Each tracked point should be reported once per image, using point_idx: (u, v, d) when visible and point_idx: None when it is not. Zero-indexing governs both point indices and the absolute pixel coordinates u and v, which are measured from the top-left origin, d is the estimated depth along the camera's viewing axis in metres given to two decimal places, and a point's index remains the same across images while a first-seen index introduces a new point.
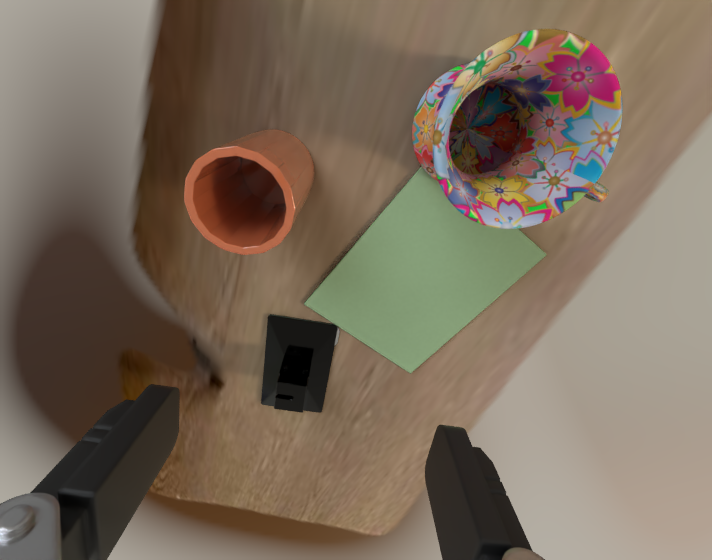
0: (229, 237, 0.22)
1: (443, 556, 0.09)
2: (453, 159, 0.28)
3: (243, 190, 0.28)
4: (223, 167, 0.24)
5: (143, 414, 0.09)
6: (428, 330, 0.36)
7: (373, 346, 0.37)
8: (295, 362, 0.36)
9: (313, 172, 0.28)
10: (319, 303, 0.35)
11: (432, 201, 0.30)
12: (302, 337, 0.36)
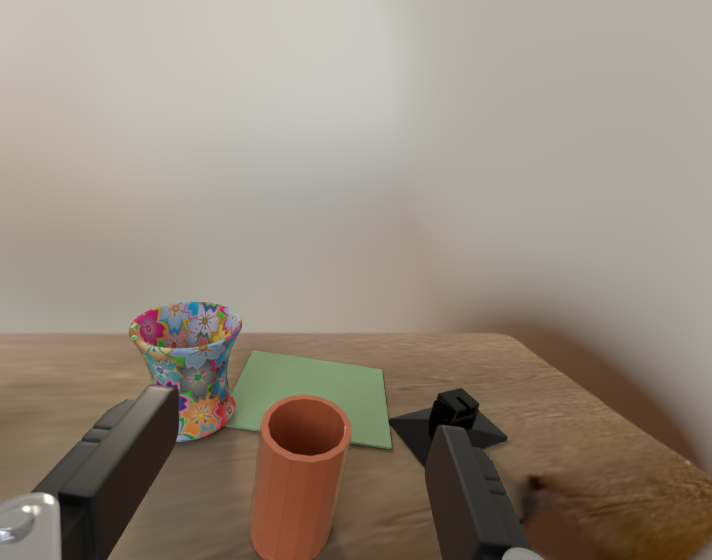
0: (343, 436, 0.26)
1: (443, 556, 0.09)
2: None
3: None
4: None
5: (143, 414, 0.09)
6: (344, 374, 0.48)
7: (382, 394, 0.45)
8: (439, 423, 0.40)
9: None
10: (381, 437, 0.38)
11: (252, 409, 0.39)
12: (419, 434, 0.39)
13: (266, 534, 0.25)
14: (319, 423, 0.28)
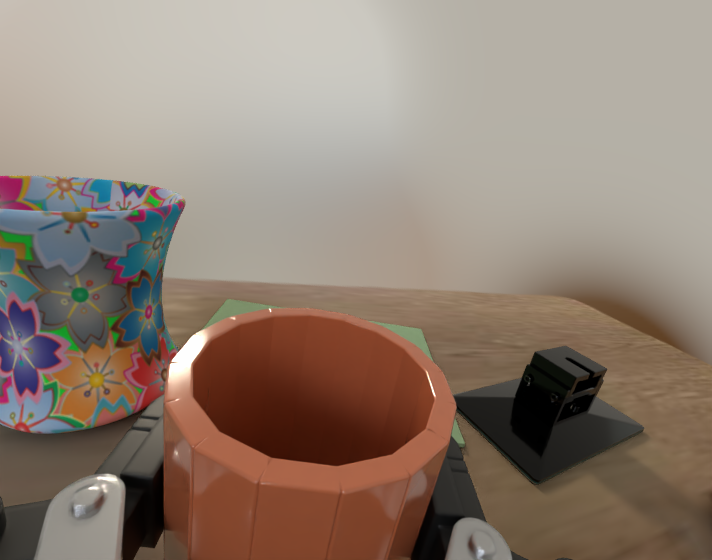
0: (420, 406, 0.09)
1: None
2: None
3: None
4: None
5: None
6: None
7: None
8: (538, 402, 0.23)
9: None
10: None
11: None
12: (506, 421, 0.23)
13: None
14: (345, 381, 0.11)
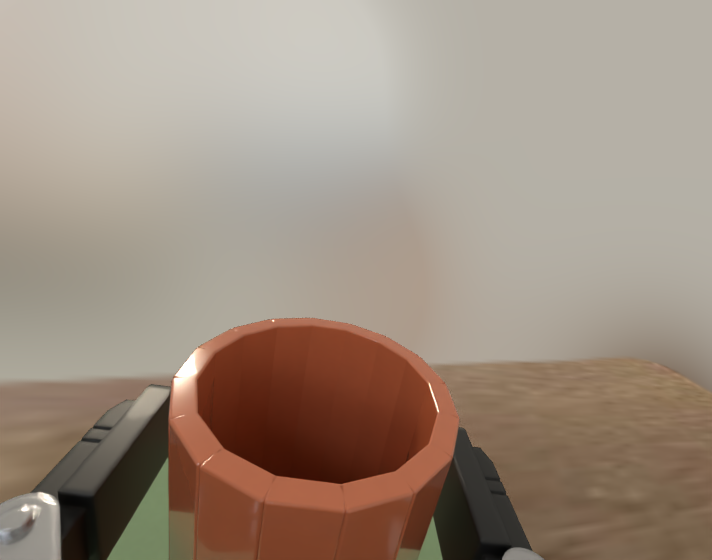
0: (423, 418, 0.09)
1: (443, 556, 0.09)
2: None
3: None
4: None
5: (143, 414, 0.09)
6: None
7: None
8: None
9: None
10: None
11: None
12: None
13: None
14: (348, 390, 0.11)
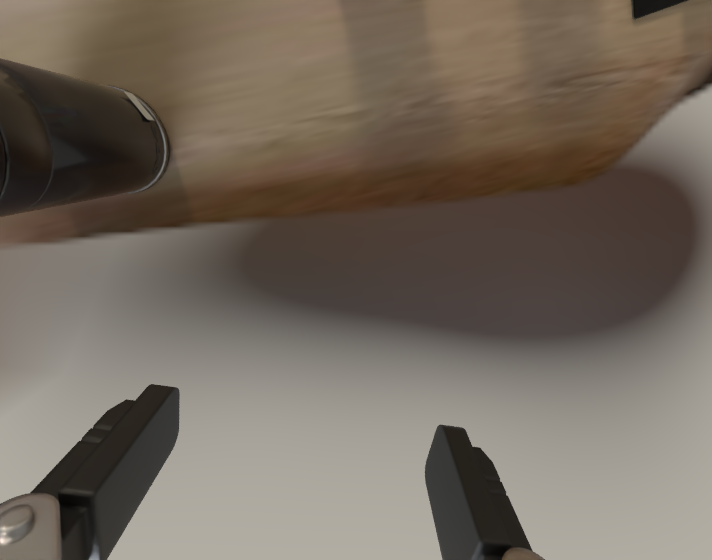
0: None
1: (443, 556, 0.09)
2: None
3: None
4: None
5: (143, 414, 0.09)
6: None
7: None
8: None
9: None
10: None
11: None
12: None
13: None
14: None
